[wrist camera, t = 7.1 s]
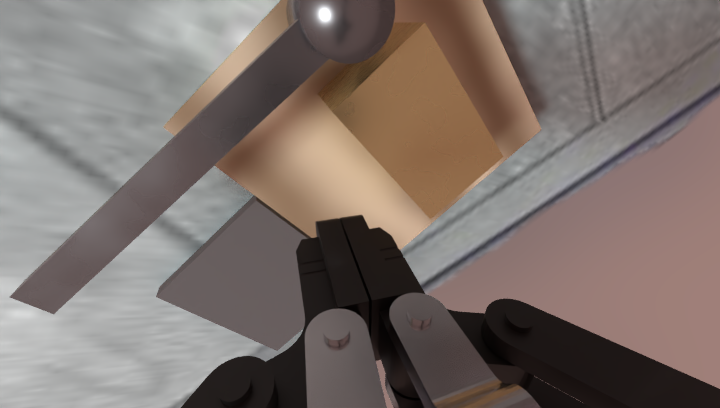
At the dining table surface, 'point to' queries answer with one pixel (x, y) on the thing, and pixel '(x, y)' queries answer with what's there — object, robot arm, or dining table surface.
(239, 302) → the mat
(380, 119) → the brown rectangular block
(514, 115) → the base plate
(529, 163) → the dining table surface
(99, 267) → the clamp lever
